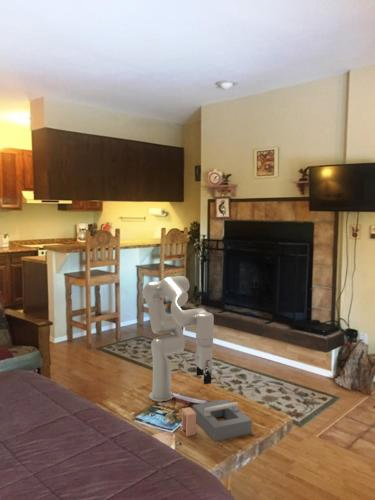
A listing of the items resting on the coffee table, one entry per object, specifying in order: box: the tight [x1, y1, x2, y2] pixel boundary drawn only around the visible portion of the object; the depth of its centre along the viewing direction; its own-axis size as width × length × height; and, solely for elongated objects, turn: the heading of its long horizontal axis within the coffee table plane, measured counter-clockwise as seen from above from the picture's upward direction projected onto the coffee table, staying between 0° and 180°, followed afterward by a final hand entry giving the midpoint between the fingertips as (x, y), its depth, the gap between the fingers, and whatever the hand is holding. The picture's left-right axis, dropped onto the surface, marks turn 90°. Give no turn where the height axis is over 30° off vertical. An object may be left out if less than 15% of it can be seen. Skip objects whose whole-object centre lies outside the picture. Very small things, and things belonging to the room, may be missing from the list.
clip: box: [180, 406, 197, 437], centre depth 185 cm, size 6×4×10 cm, turn 23°
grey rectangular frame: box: [192, 398, 253, 442], centre depth 191 cm, size 22×18×10 cm
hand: (203, 379), depth 186 cm, fingers open, 9 cm apart
